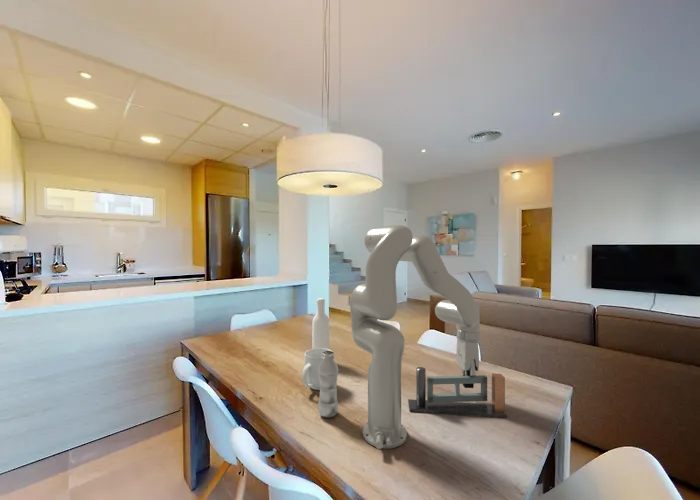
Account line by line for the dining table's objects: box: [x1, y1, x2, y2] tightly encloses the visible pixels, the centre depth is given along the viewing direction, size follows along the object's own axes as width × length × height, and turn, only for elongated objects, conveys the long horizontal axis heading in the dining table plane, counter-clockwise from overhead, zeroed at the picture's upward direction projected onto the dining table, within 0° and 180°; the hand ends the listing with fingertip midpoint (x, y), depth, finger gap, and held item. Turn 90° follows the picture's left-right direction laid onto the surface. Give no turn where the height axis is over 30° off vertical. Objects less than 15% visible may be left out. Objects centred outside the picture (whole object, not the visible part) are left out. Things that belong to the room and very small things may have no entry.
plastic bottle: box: [317, 350, 339, 418], centre depth 95 cm, size 6×7×20 cm
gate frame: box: [407, 366, 508, 419], centre depth 98 cm, size 6×30×13 cm, turn 83°
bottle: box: [311, 297, 330, 349], centre depth 138 cm, size 8×8×30 cm
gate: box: [426, 374, 488, 403], centre depth 99 cm, size 20×2×8 cm, turn 92°
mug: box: [301, 348, 332, 391], centre depth 113 cm, size 15×11×13 cm
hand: (468, 386), depth 104 cm, fingers closed
